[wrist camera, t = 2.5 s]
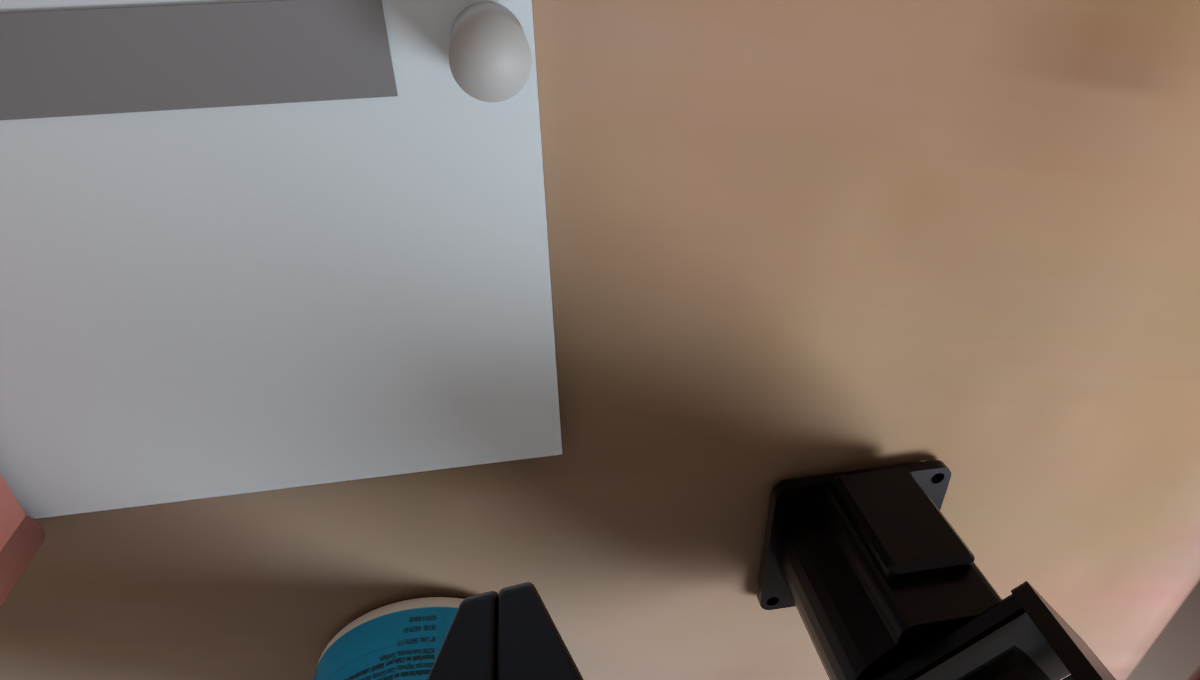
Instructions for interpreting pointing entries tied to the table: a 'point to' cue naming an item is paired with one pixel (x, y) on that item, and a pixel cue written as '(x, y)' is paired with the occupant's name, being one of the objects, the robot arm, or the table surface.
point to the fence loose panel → (15, 540)
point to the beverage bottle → (390, 642)
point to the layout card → (268, 246)
